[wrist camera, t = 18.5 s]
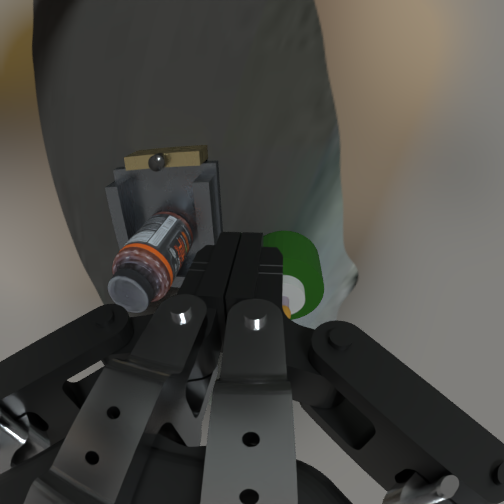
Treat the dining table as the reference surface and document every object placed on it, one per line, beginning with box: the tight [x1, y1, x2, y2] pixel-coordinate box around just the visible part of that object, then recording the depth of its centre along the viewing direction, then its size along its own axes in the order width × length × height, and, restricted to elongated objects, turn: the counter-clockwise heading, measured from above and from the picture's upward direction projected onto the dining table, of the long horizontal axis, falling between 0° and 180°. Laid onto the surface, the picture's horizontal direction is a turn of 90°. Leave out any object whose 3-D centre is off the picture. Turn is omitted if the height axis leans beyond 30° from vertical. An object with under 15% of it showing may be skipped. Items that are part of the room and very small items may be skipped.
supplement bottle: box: [108, 212, 193, 313], centre depth 27 cm, size 6×6×11 cm
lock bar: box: [124, 145, 208, 172], centre depth 26 cm, size 2×8×4 cm, turn 91°
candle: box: [263, 231, 324, 320], centre depth 29 cm, size 8×8×10 cm
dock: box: [105, 161, 223, 288], centre depth 30 cm, size 14×12×4 cm
